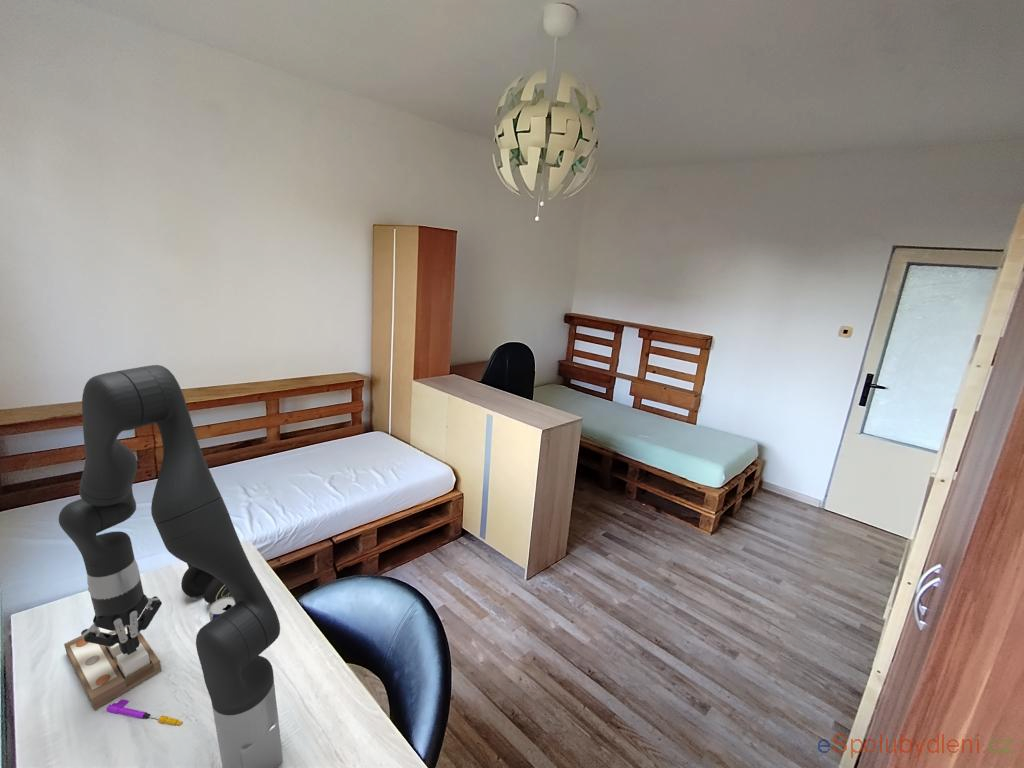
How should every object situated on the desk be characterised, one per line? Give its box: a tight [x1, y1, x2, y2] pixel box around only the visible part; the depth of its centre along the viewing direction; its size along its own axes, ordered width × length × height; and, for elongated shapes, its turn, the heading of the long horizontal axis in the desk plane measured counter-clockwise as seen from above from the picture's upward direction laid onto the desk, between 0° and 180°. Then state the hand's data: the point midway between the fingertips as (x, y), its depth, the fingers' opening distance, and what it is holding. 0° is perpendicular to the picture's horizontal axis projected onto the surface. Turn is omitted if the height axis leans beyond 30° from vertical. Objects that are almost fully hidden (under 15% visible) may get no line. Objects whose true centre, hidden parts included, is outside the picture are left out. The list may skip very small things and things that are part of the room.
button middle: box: [107, 628, 127, 659], centre depth 97 cm, size 4×4×3 cm
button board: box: [63, 631, 163, 711], centre depth 97 cm, size 20×11×4 cm, turn 55°
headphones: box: [180, 563, 231, 605], centre depth 114 cm, size 9×15×20 cm, turn 74°
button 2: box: [116, 643, 150, 678], centre depth 94 cm, size 4×4×3 cm
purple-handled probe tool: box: [106, 698, 183, 726], centre depth 88 cm, size 3×1×16 cm
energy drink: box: [208, 596, 235, 622], centre depth 101 cm, size 5×5×12 cm
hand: (131, 650), depth 93 cm, fingers closed
